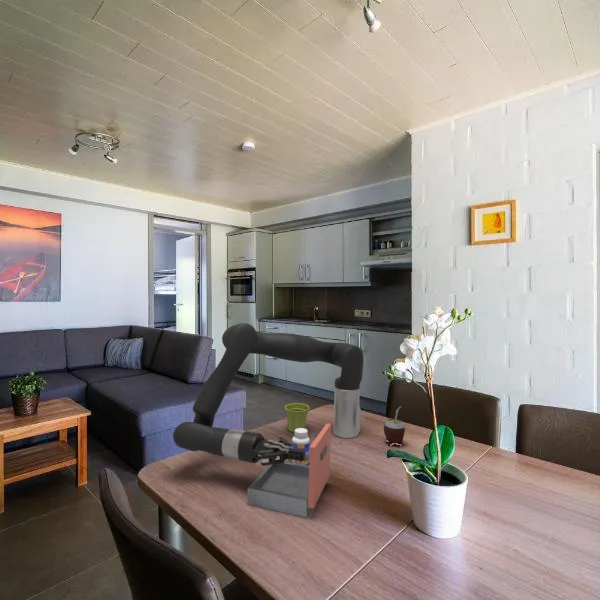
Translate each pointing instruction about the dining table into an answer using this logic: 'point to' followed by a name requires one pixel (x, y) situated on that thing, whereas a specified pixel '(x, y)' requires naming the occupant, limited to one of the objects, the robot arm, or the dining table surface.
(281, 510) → the grey square tray
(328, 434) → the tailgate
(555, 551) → the dining table surface
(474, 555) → the dining table surface
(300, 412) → the plant pot
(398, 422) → the mate gourd
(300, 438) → the pill bottle
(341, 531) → the dining table surface
